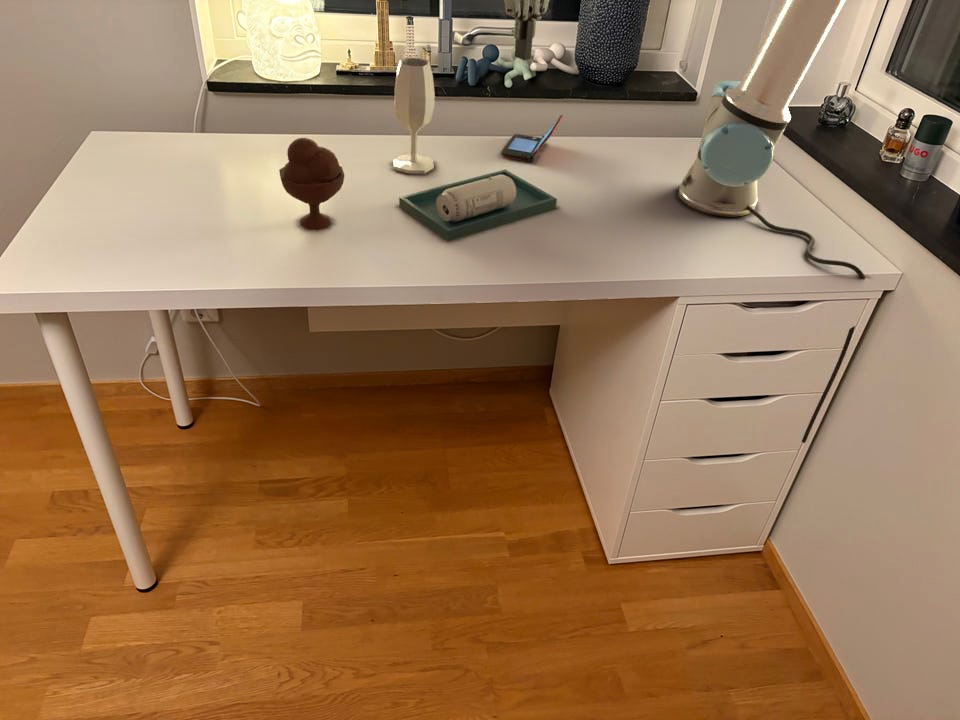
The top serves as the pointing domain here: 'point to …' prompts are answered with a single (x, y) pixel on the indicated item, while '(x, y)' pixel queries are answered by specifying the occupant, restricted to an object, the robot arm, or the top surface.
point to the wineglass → (414, 109)
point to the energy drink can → (476, 198)
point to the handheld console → (526, 145)
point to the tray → (523, 206)
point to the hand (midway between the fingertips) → (522, 57)
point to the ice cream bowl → (311, 179)
